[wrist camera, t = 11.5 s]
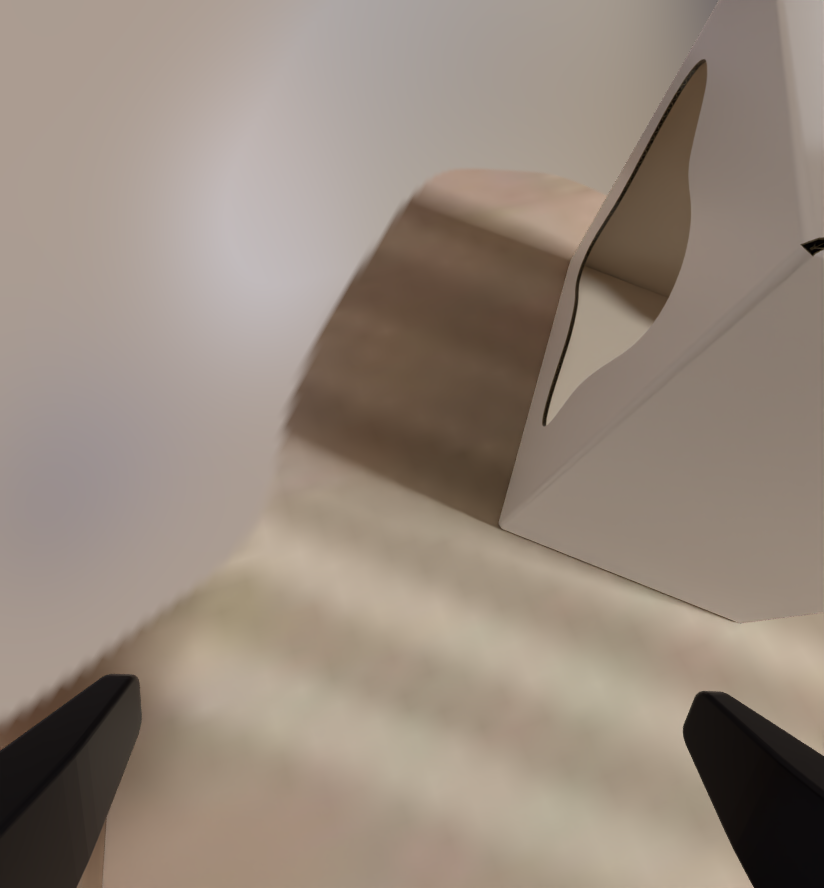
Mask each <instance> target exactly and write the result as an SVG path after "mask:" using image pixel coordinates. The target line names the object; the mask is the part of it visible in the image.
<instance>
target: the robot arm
mask: <svg viewBox="0 0 824 888" xmlns="http://www.w3.org/2000/svg"><path fill="white" fill-rule="evenodd" d="M141 720H142V713H141V698H140V683H139V679H138V677H137V676H135V675H130V674H109V675H106V676H104V677H102V678H100V679H99V680H97V681H96V682H95V683H93V684H92V685H91V686H89V687H88V688H86V689H85V690H84V691H82V692H81V693H80V694H78V695H77V696H75V697H74V698H73V699H71V700H70V701H68V702H67V703H66V704H64V705H63V706H62V707H60V708H59V709H57V710H56V711H55V712H53V713H52V714H51V715H49V716H48V717H46V718H45V719H44V720H42V721H41V722H39V723H38V724H37V725H35V726H34V727H33V728H31V729H30V730H28V731H27V732H26V733H24V734H23V735H21V736H20V737H19V738H17V739H16V740H15V741H13V742H12V743H10V744H9V745H8V746H6V747H5V748H4V749H2V750H1V751H0V888H77V886H78V884H79V882H80V880H81V877H82V875H83V873H84V871H85V869H86V867H87V864H88V862H89V860H90V858H91V855H92V853H93V850H94V848H95V845H96V843H97V840H98V838H99V835H100V833H101V830H102V827H103V825H104V822H105V820H106V817H107V815H108V812H109V809H110V807H111V804H112V802H113V799H114V796H115V794H116V791H117V789H118V786H119V783H120V781H121V778H122V776H123V773H124V770H125V768H126V765H127V763H128V760H129V757H130V755H131V752H132V750H133V747H134V745H135V742H136V739H137V737H138V734H139V730H140V726H141ZM683 737H684V741H685V744H686V746H687V748H688V750H689V753H690V755H691V757H692V759H693V762H694V764H695V766H696V768H697V770H698V773H699V775H700V777H701V779H702V781H703V784H704V786H705V788H706V790H707V793H708V795H709V797H710V799H711V801H712V804H713V806H714V808H715V810H716V813H717V815H718V817H719V819H720V821H721V824H722V826H723V828H724V830H725V832H726V835H727V837H728V839H729V841H730V843H731V845H732V847H733V849H734V851H735V853H736V855H737V857H738V859H739V861H740V863H741V865H742V867H743V869H744V870H745V872H746V874H747V876H748V878H749V880H750V882H751V883H752V885H753V887H754V888H824V756H823V755H821V754H820V753H818V752H817V751H815V750H813V749H812V748H810V747H809V746H807V745H806V744H804V743H803V742H801V741H800V740H798V739H796V738H795V737H793V736H792V735H790V734H789V733H787V732H786V731H784V730H783V729H781V728H779V727H778V726H776V725H775V724H773V723H772V722H770V721H769V720H767V719H765V718H764V717H762V716H761V715H759V714H758V713H756V712H755V711H753V710H752V709H750V708H748V707H747V706H745V705H744V704H742V703H741V702H739V701H738V700H736V699H735V698H733V697H731V696H730V695H728V694H726V693H724V692H716V691H701V692H699V693H698V694H697V695H696V696H695V698H694V700H693V703H692V705H691V708H690V710H689V713H688V715H687V718H686V720H685V723H684V726H683Z"/></svg>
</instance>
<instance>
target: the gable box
mask: <svg viewBox="0 0 824 888" xmlns="http://www.w3.org/2000/svg"><path fill="white" fill-rule="evenodd" d="M499 525H500V527H501V528H502V529H504V530H506V531H509V532H511V533H514V534H516V535H519V536H521V537H524V538H526V539H529V540H531V541H534V542H536V543H539V544H541V545H544V546H546V547H549V548H552V549H554V550H557V551H559V552H562V553H564V554H567V555H569V556H572V557H574V558H577V559H579V560H582V561H584V562H587V563H589V564H592V565H594V566H597V567H599V568H602V569H604V570H607V571H609V572H612V573H615V574H617V575H620V576H622V577H625V578H627V579H630V580H632V581H635V582H637V583H640V584H642V585H645V586H647V587H650V588H652V589H655V590H657V591H660V592H662V593H665V594H667V595H670V596H672V597H675V598H677V599H680V600H683V601H685V602H688V603H690V604H693V605H695V606H698V607H700V608H703V609H705V610H708V611H710V612H713V613H715V614H718V615H720V616H723V617H725V618H728V619H730V620H733V621H735V622H738V623H748V622H756V621H763V620H771V619H779V618H786V617H794V616H802V615H810V614H817V613H824V0H719V1H718V3H717V5H716V6H715V8H714V10H713V12H712V13H711V15H710V17H709V19H708V20H707V22H706V24H705V26H704V27H703V29H702V31H701V33H700V34H699V36H698V38H697V40H696V41H695V43H694V45H693V47H692V48H691V50H690V52H689V54H688V55H687V57H686V59H685V61H684V62H683V64H682V66H681V68H680V69H679V71H678V73H677V75H676V76H675V78H674V80H673V82H672V83H671V85H670V87H669V89H668V90H667V92H666V94H665V96H664V97H663V99H662V101H661V103H660V104H659V106H658V108H657V110H656V111H655V113H654V115H653V117H652V118H651V120H650V122H649V124H648V125H647V127H646V129H645V131H644V133H643V134H642V136H641V138H640V139H639V141H638V143H637V145H636V146H635V148H634V150H633V152H632V153H631V155H630V157H629V159H628V161H627V162H626V164H625V166H624V167H623V169H622V171H621V173H620V174H619V176H618V178H617V180H616V181H615V183H614V185H613V187H612V189H611V190H610V192H609V194H608V195H607V197H606V199H605V201H604V202H603V204H602V206H601V208H600V209H599V211H598V213H597V215H596V216H595V218H594V220H593V222H592V223H591V225H590V227H589V229H588V230H587V232H586V234H585V236H584V237H583V239H582V241H581V243H580V244H579V246H578V248H577V250H576V251H575V253H574V255H573V257H572V258H571V260H570V263H569V267H568V271H567V274H566V278H565V282H564V285H563V289H562V293H561V296H560V300H559V304H558V307H557V311H556V315H555V318H554V322H553V326H552V329H551V333H550V337H549V340H548V344H547V347H546V351H545V355H544V358H543V362H542V366H541V369H540V373H539V377H538V380H537V384H536V388H535V391H534V395H533V399H532V402H531V406H530V410H529V413H528V417H527V421H526V424H525V428H524V432H523V435H522V439H521V443H520V446H519V450H518V454H517V457H516V461H515V465H514V468H513V472H512V476H511V479H510V483H509V487H508V490H507V494H506V498H505V501H504V505H503V509H502V512H501V516H500V520H499Z"/></svg>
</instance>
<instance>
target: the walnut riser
mask: <svg viewBox="0 0 824 888" xmlns="http://www.w3.org/2000/svg"><path fill="white" fill-rule="evenodd" d="M105 832H106V820H105V822H104V825H103V827H102V830H101V833H100V835H99V838H98V840H97V843H96V845H95V848H94V850H93V853H92V855H91V858H90V860H89V862H88V864H87V867H86V869H85V871H84V873H83V875H82V877H81V880H80V882H79V884H78V886H77V888H102V878H103V863H104V847H105Z"/></svg>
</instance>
